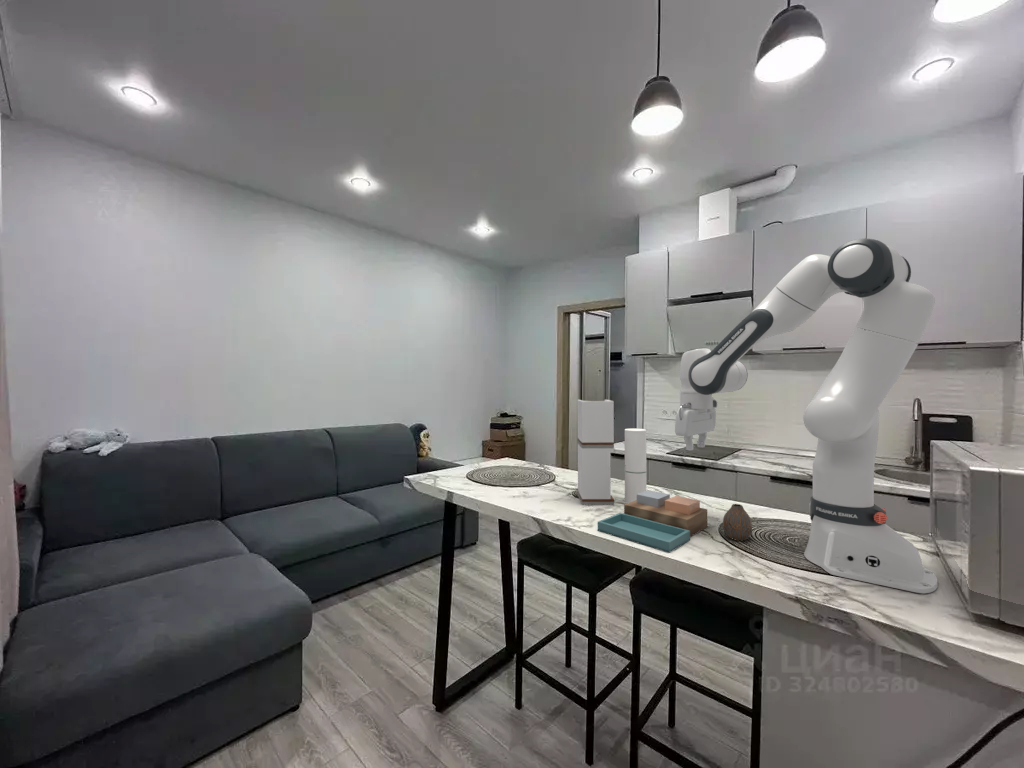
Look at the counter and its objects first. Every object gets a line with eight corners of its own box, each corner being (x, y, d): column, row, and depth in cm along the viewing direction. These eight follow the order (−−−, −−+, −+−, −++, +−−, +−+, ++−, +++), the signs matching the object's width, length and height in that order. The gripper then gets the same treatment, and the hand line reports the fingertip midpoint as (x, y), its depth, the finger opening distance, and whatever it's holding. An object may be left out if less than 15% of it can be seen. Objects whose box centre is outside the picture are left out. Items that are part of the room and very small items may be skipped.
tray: (690, 540, 111) (690, 530, 111) (669, 552, 103) (669, 542, 103) (620, 520, 126) (620, 512, 126) (597, 530, 118) (597, 521, 118)
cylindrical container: (644, 499, 148) (643, 428, 148) (648, 505, 141) (648, 430, 141) (623, 499, 149) (623, 428, 149) (626, 505, 142) (626, 430, 142)
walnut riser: (707, 526, 121) (707, 509, 121) (687, 538, 112) (687, 519, 112) (646, 511, 134) (646, 496, 134) (624, 521, 126) (624, 504, 126)
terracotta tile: (699, 509, 121) (699, 500, 121) (689, 514, 116) (689, 505, 116) (676, 504, 126) (676, 495, 126) (664, 509, 121) (664, 500, 121)
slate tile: (669, 502, 127) (669, 494, 127) (658, 507, 122) (658, 499, 122) (648, 498, 132) (648, 490, 132) (636, 502, 128) (636, 494, 127)
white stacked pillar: (614, 505, 142) (613, 401, 141) (582, 505, 142) (581, 401, 142) (607, 495, 153) (606, 399, 153) (577, 495, 154) (577, 399, 153)
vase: (723, 531, 117) (723, 500, 117) (752, 536, 113) (752, 503, 113) (721, 539, 111) (721, 506, 111) (752, 545, 107) (751, 510, 107)
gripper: (690, 404, 117) (690, 454, 117) (719, 401, 131) (719, 446, 131) (669, 403, 122) (669, 451, 122) (699, 400, 136) (699, 443, 136)
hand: (695, 448), depth 127 cm, fingers open, 6 cm apart
